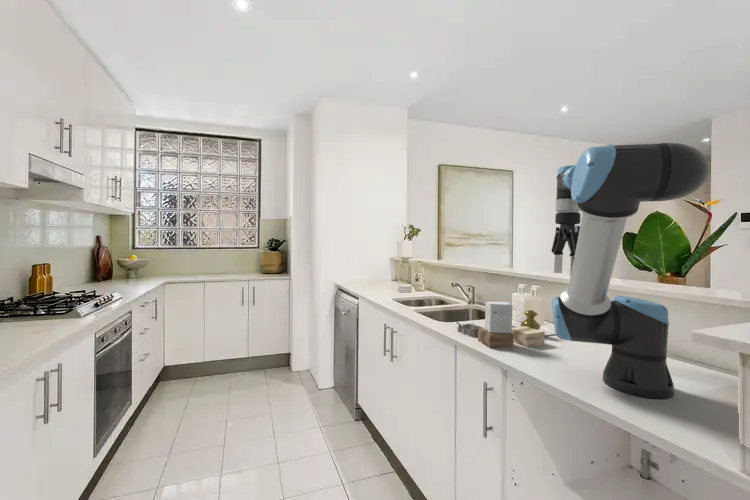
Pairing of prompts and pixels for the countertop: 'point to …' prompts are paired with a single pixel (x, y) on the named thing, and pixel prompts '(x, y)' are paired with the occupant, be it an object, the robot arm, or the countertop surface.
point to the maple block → (528, 336)
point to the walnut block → (495, 339)
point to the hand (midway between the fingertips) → (565, 274)
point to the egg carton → (468, 329)
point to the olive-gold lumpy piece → (530, 320)
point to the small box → (498, 317)
